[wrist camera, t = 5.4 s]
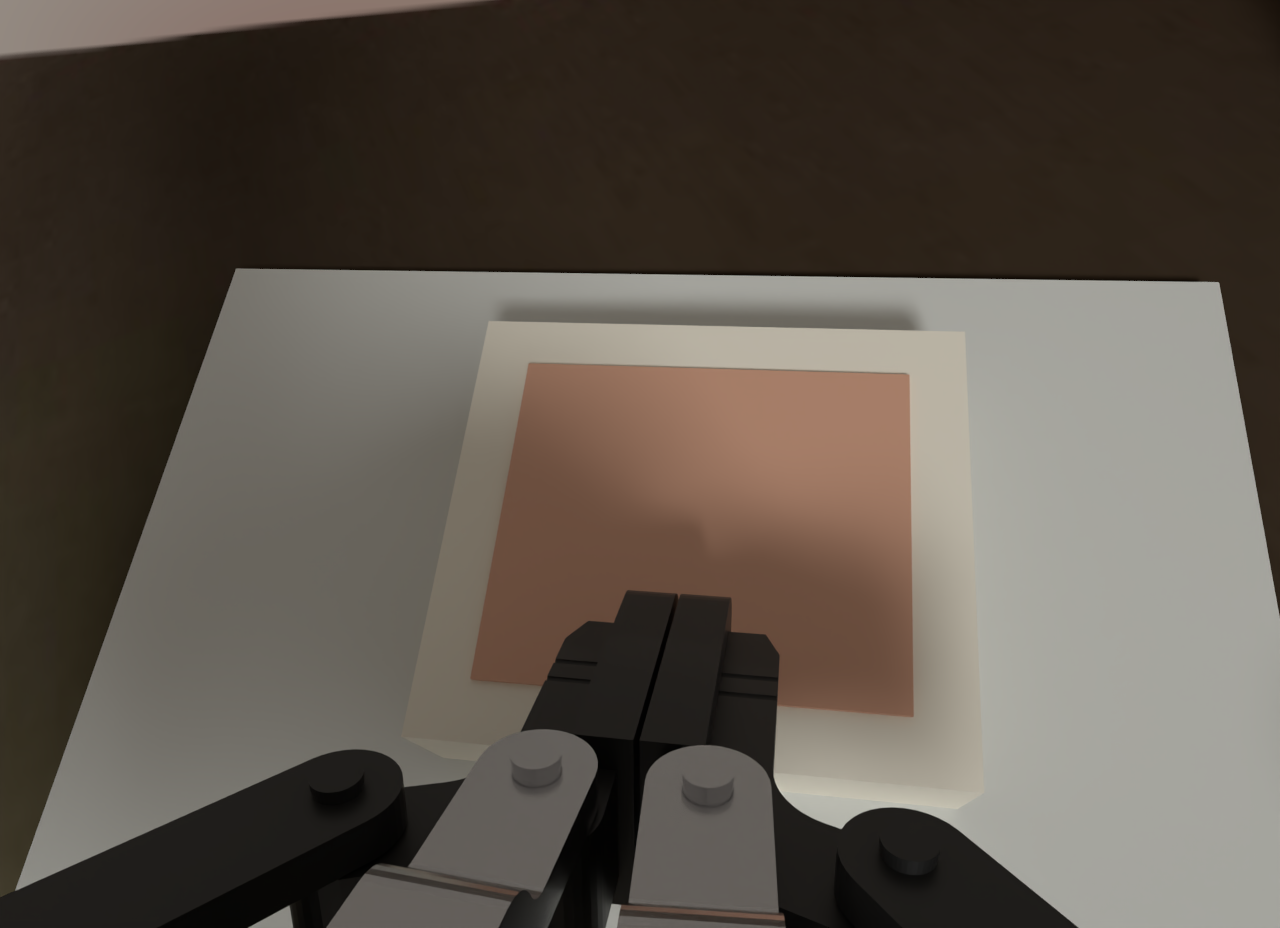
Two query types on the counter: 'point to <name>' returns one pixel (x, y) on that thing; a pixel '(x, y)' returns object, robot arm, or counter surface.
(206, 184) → the counter surface
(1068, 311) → the mat
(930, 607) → the box
